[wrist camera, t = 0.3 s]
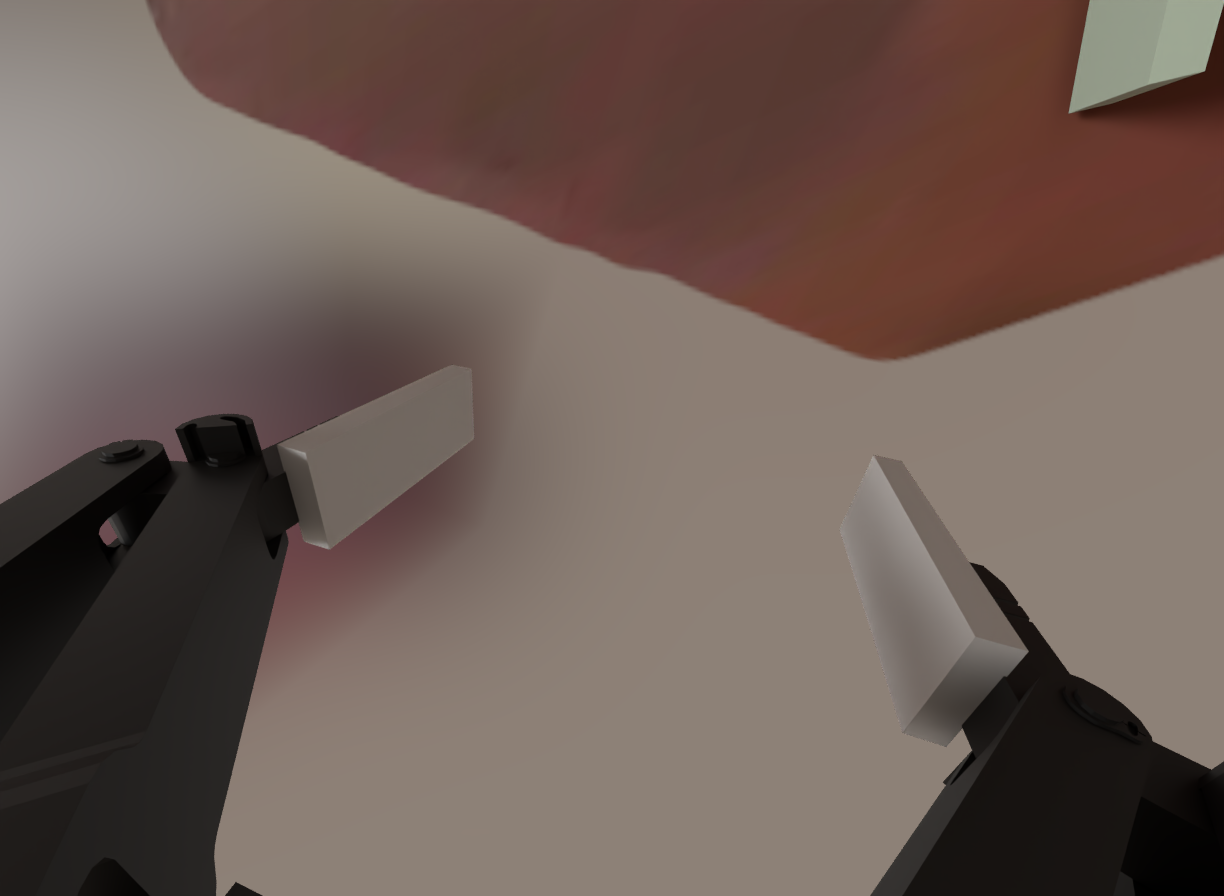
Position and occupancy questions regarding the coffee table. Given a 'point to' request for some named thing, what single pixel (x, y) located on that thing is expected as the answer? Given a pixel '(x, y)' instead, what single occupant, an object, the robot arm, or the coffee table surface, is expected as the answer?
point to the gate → (1141, 47)
